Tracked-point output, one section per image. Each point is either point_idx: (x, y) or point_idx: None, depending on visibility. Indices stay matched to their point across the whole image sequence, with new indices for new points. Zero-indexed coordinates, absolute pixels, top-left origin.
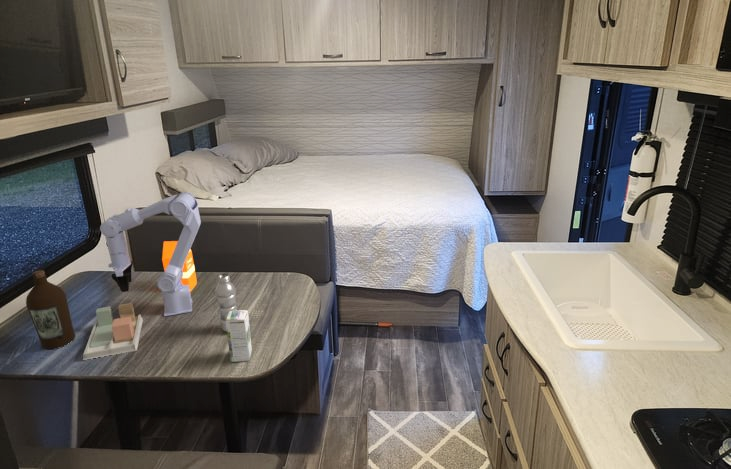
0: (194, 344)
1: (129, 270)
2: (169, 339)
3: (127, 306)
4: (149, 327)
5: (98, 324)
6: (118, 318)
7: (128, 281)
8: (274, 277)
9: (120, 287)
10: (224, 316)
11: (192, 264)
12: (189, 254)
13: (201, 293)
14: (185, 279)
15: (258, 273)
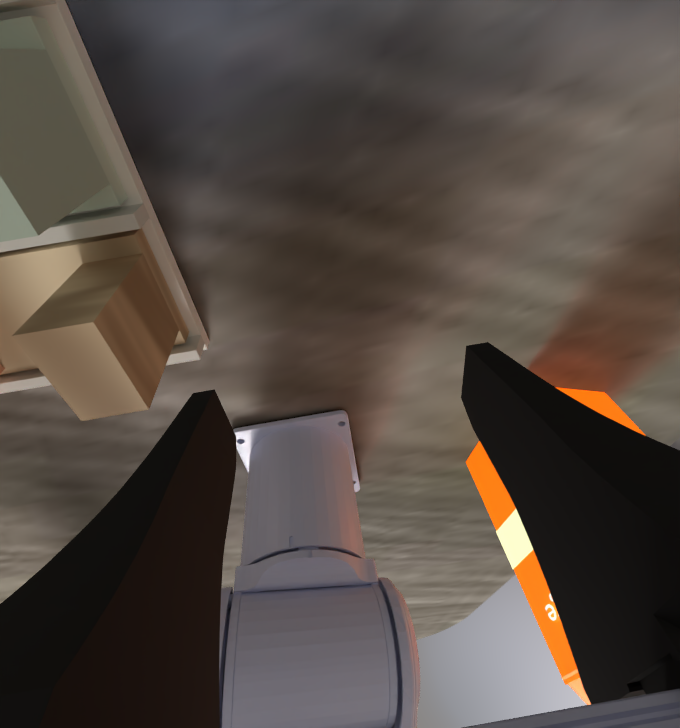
0: (9, 551)
1: (539, 544)
2: (21, 486)
3: (73, 397)
4: None
5: (3, 32)
6: (130, 226)
7: (218, 564)
8: (451, 607)
9: (163, 450)
10: None
11: None
12: None
13: (429, 495)
14: (500, 516)
15: (503, 581)
